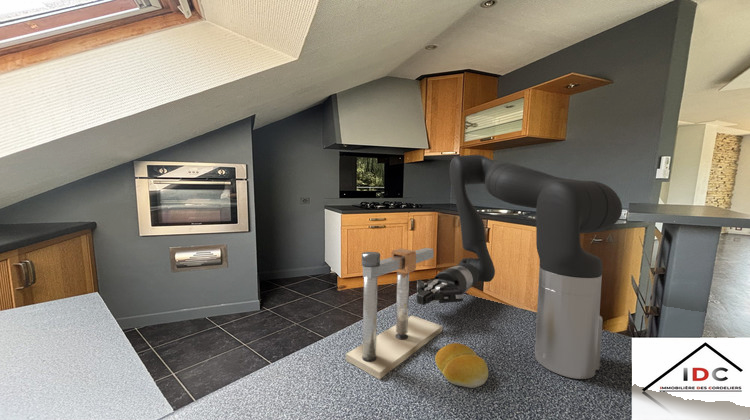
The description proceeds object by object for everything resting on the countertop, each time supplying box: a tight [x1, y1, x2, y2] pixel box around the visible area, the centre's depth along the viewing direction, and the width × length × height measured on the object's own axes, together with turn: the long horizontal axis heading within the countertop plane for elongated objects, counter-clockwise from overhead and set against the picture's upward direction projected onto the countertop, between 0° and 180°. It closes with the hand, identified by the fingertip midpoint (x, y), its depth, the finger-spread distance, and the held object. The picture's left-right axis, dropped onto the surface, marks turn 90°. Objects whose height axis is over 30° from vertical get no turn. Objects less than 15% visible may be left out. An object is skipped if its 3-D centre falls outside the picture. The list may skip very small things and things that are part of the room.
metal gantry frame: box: [361, 247, 434, 361], centre depth 57 cm, size 22×3×19 cm, turn 139°
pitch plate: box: [345, 315, 443, 380], centre depth 58 cm, size 22×8×1 cm, turn 139°
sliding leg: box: [390, 248, 417, 336], centre depth 58 cm, size 3×4×17 cm
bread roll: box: [434, 342, 489, 389], centre depth 49 cm, size 8×9×4 cm
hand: (420, 300), depth 63 cm, fingers closed
